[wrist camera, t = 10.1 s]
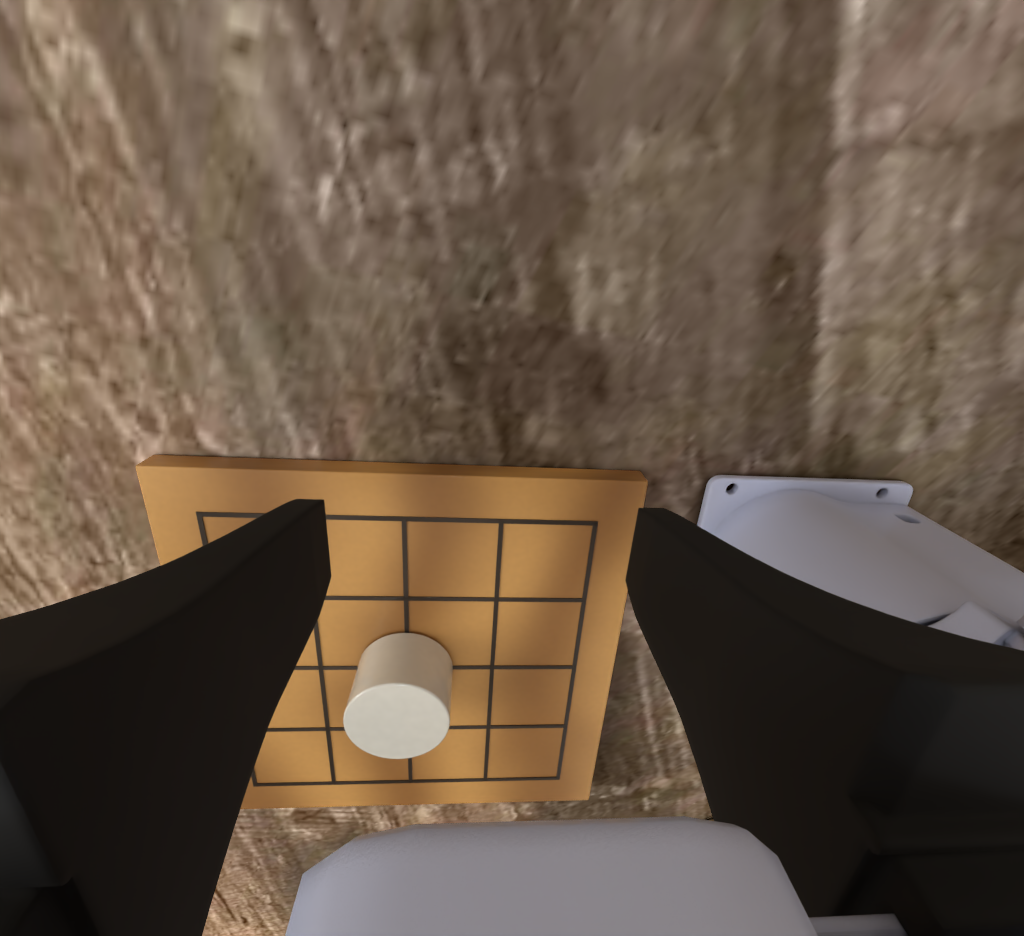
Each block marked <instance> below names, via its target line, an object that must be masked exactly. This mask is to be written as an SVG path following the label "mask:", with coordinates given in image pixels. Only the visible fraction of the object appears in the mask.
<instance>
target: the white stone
mask: <svg viewBox="0 0 1024 936" xmlns="http://www.w3.org/2000/svg"><path fill="white" fill-rule="evenodd" d="M452 681H453V664H452V660H451V658H450V656H449V654H448V653H447V651H446V650H445V649H444V647H442V646H441V645H440V644H439V643H438V642H436V641H435V640H433V639H431V638H429V637H426V636H424V635H420V634H415V633H395V634H390V635H387V636H384V637H382V638H380V639H378V640H376V641H374V642H373V643H372V644H370V645H369V646H368V647H367V648H366V649H365V651H364V652H363V654H362V655H361V657H360V660H359V663H358V667H357V670H356V673H355V677H354V680H353V684H352V687H351V691H350V694H349V697H348V701H347V704H346V708H345V711H344V716H343V724H344V729H345V731H346V734H347V735H348V737H349V739H350V740H351V741H352V742H353V743H354V744H355V745H356V746H357V747H359V748H360V749H361V750H363V751H365V752H367V753H369V754H371V755H374V756H378V757H382V758H388V759H406V758H412V757H416V756H420V755H422V754H425V753H427V752H429V751H431V750H432V749H434V748H435V747H436V746H438V745H439V744H440V743H441V742H442V740H443V739H444V738H445V736H446V734H447V732H448V730H449V727H450V716H451V698H452Z"/></svg>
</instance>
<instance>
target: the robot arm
mask: <svg viewBox="0 0 1024 936" xmlns="http://www.w3.org/2000/svg"><path fill="white" fill-rule="evenodd" d="M733 483H734V486H733V487H732V489H730V490H727V491H726V488H727V486H729V485H730V484H733ZM880 489H881V491H880V492H879V493H878V494H876V493H877V492H878V491H879V490H880ZM912 493H913V488H912V486H911V485H910V484H908V483H906V482H904V481H891V480H861V479H830V478H799V477H768V476H737V475H716V476H714V477H712V478H711V479H710V480H709V481H708V483H707V485H706V489H705V493H704V498H703V502H702V506H701V510H700V514H699V519H698V523H697V525H695V524H694V523H692V522H690V521H688V520H687V519H685V518H683V517H681V516H679V515H677V514H675V513H673V512H671V511H669V510H667V509H664V508H638V513H637V519H636V524H635V530H634V535H633V541H632V546H631V552H630V557H629V563H628V568H627V573H626V579H625V581H626V585H627V589H628V592H629V596H630V600H631V603H632V606H633V610H634V613H635V616H636V619H637V621H638V623H639V626H640V628H641V630H642V632H643V635H644V637H645V639H646V641H647V643H648V646H649V648H650V650H651V652H652V654H653V657H654V659H655V661H656V663H657V665H658V667H659V670H660V672H661V674H662V676H663V678H664V680H665V683H666V685H667V687H668V689H669V691H670V694H671V696H672V698H673V700H674V703H675V705H676V707H677V710H678V712H679V715H680V717H681V720H682V723H683V726H684V729H685V732H686V734H687V737H688V740H689V743H690V746H691V749H692V752H693V755H694V758H695V761H696V764H697V767H698V771H699V774H700V777H701V780H702V784H703V787H704V790H705V793H706V796H707V800H708V803H709V806H710V809H711V813H712V816H713V819H714V821H710V820H704V819H697V818H691V817H685V816H681V817H647V818H614V819H580V820H546V821H512V822H478V823H444V824H415V825H410V826H405V827H400V828H395V829H390V830H385V831H380V832H375V833H370V834H364V835H359V836H357V837H355V838H354V839H353V840H351V841H350V842H348V843H347V844H345V845H344V846H342V847H341V848H339V849H338V850H337V851H335V852H334V853H332V854H331V855H329V856H328V857H326V858H325V859H323V860H322V861H320V862H319V863H318V864H316V865H315V866H313V867H312V868H310V869H309V870H308V871H306V872H305V873H303V875H302V879H301V882H300V886H299V889H298V893H297V896H296V900H295V903H294V906H293V910H292V913H291V917H290V921H289V924H288V928H287V931H286V935H285V936H1024V573H1023V572H1022V571H1020V570H1018V569H1016V568H1015V567H1013V566H1011V565H1009V564H1008V563H1006V562H1004V561H1002V560H1001V559H999V558H997V557H995V556H994V555H992V554H990V553H988V552H987V551H985V550H983V549H981V548H980V547H978V546H976V545H974V544H973V543H971V542H969V541H967V540H966V539H964V538H962V537H961V536H959V535H957V534H955V533H954V532H952V531H950V530H948V529H947V528H945V527H943V526H941V525H940V524H938V523H936V522H934V521H933V520H931V519H929V518H927V517H926V516H924V515H922V514H920V513H919V512H917V511H915V510H913V509H912V508H910V507H908V503H909V501H910V498H911V496H912ZM331 577H332V576H331V566H330V555H329V545H328V534H327V524H326V513H325V502H324V500H323V499H294V500H292V501H289V502H287V503H285V504H283V505H281V506H279V507H277V508H275V509H273V510H271V511H269V512H267V513H265V514H264V515H262V516H260V517H258V518H256V519H254V520H252V521H251V522H249V523H247V524H245V525H243V526H241V527H239V528H238V529H236V530H234V531H232V532H230V533H228V534H226V535H224V536H222V537H220V538H218V539H216V540H214V541H212V542H210V543H208V544H206V545H204V546H202V547H200V548H198V549H196V550H194V551H192V552H190V553H188V554H186V555H184V556H182V557H179V558H177V559H175V560H173V561H170V562H168V563H166V564H164V565H161V566H159V567H156V568H154V569H152V570H149V571H147V572H144V573H142V574H139V575H137V576H134V577H131V578H129V579H126V580H124V581H121V582H118V583H116V584H113V585H110V586H107V587H104V588H101V589H98V590H95V591H92V592H89V593H86V594H83V595H80V596H77V597H74V598H71V599H68V600H65V601H62V602H59V603H56V604H53V605H50V606H46V607H43V608H40V609H36V610H33V611H29V612H25V613H22V614H18V615H15V616H11V617H8V618H4V619H0V936H202V933H203V930H204V926H205V923H206V919H207V916H208V912H209V908H210V905H211V901H212V898H213V895H214V891H215V888H216V885H217V882H218V878H219V875H220V872H221V869H222V865H223V862H224V859H225V855H226V852H227V849H228V846H229V842H230V839H231V836H232V832H233V829H234V826H235V823H236V820H237V817H238V814H239V811H240V808H241V805H242V802H243V799H244V796H245V793H246V790H247V787H248V784H249V781H250V778H251V775H252V772H253V769H254V766H255V763H256V760H257V758H258V755H259V752H260V749H261V746H262V743H263V740H264V738H265V735H266V732H267V729H268V726H269V724H270V721H271V719H272V717H273V714H274V712H275V710H276V707H277V705H278V703H279V700H280V698H281V696H282V694H283V692H284V690H285V688H286V686H287V684H288V682H289V679H290V677H291V675H292V673H293V671H294V669H295V667H296V665H297V663H298V661H299V658H300V656H301V654H302V652H303V650H304V648H305V646H306V644H307V642H308V639H309V637H310V635H311V633H312V631H313V629H314V627H315V624H316V622H317V620H318V618H319V615H320V613H321V610H322V607H323V603H324V600H325V597H326V594H327V590H328V587H329V583H330V580H331Z"/></svg>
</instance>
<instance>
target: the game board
mask: <svg viewBox="0 0 1024 936" xmlns="http://www.w3.org/2000/svg"><path fill="white" fill-rule="evenodd" d="M136 471H137V475H138V479H139V483H140V487H141V491H142V495H143V498H144V502H145V506H146V510H147V514H148V518H149V522H150V526H151V530H152V534H153V538H154V542H155V546H156V550H157V554H158V558H159V562H160V565H164V564H166V563H168V562H170V561H173V560H175V559H177V558H179V557H182V556H184V555H186V554H188V553H190V552H192V551H194V550H196V549H198V548H200V547H202V546H204V545H206V544H208V543H210V542H212V541H214V540H216V539H218V538H220V537H222V536H224V535H226V534H228V533H230V532H232V531H234V530H236V529H238V528H239V527H241V526H243V525H245V524H247V523H249V522H251V521H252V520H254V519H256V518H258V517H260V516H262V515H264V514H265V513H267V512H269V511H271V510H273V509H275V508H277V507H279V506H281V505H283V504H285V503H287V502H289V501H292V500H294V499H323V500H324V502H325V513H326V524H327V534H328V545H329V555H330V566H331V576H332V577H331V580H330V583H329V587H328V590H327V594H326V597H325V600H324V603H323V607H322V610H321V613H320V615H319V618H318V620H317V622H316V624H315V627H314V629H313V631H312V633H311V635H310V637H309V639H308V642H307V644H306V646H305V648H304V650H303V652H302V654H301V656H300V658H299V661H298V663H297V665H296V667H295V669H294V671H293V673H292V675H291V677H290V679H289V682H288V684H287V686H286V688H285V690H284V692H283V694H282V696H281V698H280V700H279V703H278V705H277V707H276V710H275V712H274V714H273V717H272V719H271V721H270V724H269V726H268V729H267V732H266V735H265V738H264V740H263V743H262V746H261V749H260V752H259V755H258V758H257V760H256V763H255V766H254V769H253V772H252V775H251V778H250V781H249V784H248V787H247V790H246V793H245V796H244V799H243V802H242V805H241V808H240V809H260V808H299V807H337V806H375V805H414V804H452V803H491V802H529V801H567V800H589V795H590V790H591V784H592V779H593V774H594V768H595V763H596V758H597V753H598V747H599V742H600V737H601V731H602V726H603V721H604V715H605V710H606V705H607V699H608V694H609V689H610V683H611V678H612V673H613V667H614V662H615V657H616V651H617V646H618V641H619V635H620V630H621V625H622V619H623V614H624V609H625V603H626V598H627V593H628V589H627V585H626V581H625V579H626V573H627V568H628V563H629V557H630V552H631V546H632V541H633V535H634V530H635V524H636V519H637V513H638V508H643V507H644V502H645V497H646V491H647V486H648V481H647V480H646V478H645V477H644V476H643V474H642V473H641V472H640V471H632V470H601V469H571V468H540V467H510V466H479V465H449V464H418V463H387V462H357V461H326V460H296V459H265V458H235V457H204V456H173V455H153V456H151V457H149V458H148V459H146V460H144V461H143V462H141V463H139V464H138V465H136ZM395 633H415V634H420V635H424V636H426V637H429V638H431V639H433V640H435V641H436V642H438V643H439V644H440V645H441V646H442V647H444V649H445V650H446V651H447V653H448V654H449V656H450V658H451V660H452V664H453V681H452V698H451V716H450V727H449V730H448V732H447V734H446V736H445V738H444V739H443V740H442V742H441V743H440V744H439V745H438V746H436V747H435V748H434V749H432V750H431V751H429V752H427V753H425V754H422V755H420V756H416V757H412V758H406V759H388V758H382V757H378V756H374V755H371V754H369V753H367V752H365V751H363V750H361V749H360V748H359V747H357V746H356V745H355V744H354V743H353V742H352V741H351V740H350V739H349V737H348V735H347V734H346V731H345V729H344V724H343V716H344V711H345V708H346V704H347V701H348V697H349V694H350V691H351V687H352V684H353V680H354V677H355V673H356V670H357V667H358V663H359V660H360V657H361V655H362V654H363V652H364V651H365V649H366V648H367V647H368V646H369V645H370V644H372V643H373V642H374V641H376V640H378V639H380V638H382V637H384V636H387V635H390V634H395Z"/></svg>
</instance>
